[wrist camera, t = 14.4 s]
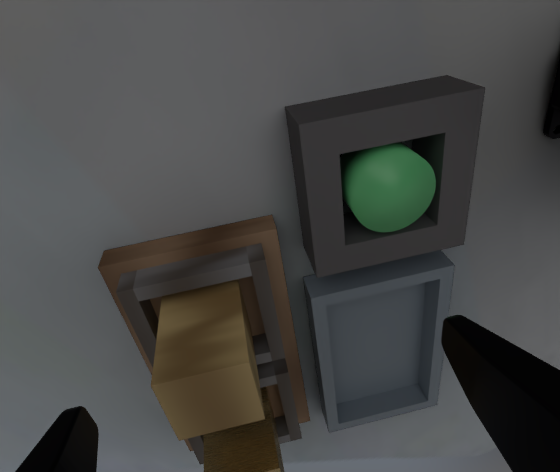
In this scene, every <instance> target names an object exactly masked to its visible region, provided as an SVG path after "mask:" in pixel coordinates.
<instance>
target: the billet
mask: <svg viewBox="0 0 560 472" xmlns="http://www.w3.org/2000/svg"><path fill="white" fill-rule="evenodd" d="M260 389H261V396H262V402H263V408H264V415H265V419H263V420H259V421H255V422H251V423H248V424H244V425H240V426H236V427H232V428H228V429H224V430H220V431H216V432H212V433H208V434H204V472H284V467H283V462H282V456H281V450H280V445H279V439H278V434H277V428H276V423H275V417H274V411H273V407H272V404H271V400H270V396H269V393H268V389H267V386H266V387H262V388H260Z"/></svg>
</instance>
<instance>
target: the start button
mask: <svg viewBox="0 0 560 472" xmlns="http://www.w3.org/2000/svg"><path fill="white" fill-rule="evenodd" d="M340 169H341V185H342V198H343V199H344V201H345V202H346V203H347V205H348V206H349V208H350V209H351V211H352V212H353V213H354V215H355V216H356V218H357V219H358V220H359V222H360V223H361V224H362V225H363V226H365V227H366V228H368V229H370V230H373V231H377V232H392V231H397V230H400V229H402V228H405V227H407V226H409V225H410V224H412V223H413V222H415V221H416V220H417V219H418V218H419V217H420V216H421V215H422V214H423V213H424V212H425V211H426V209H427V208H428V207H429V205H430V203H431V201H432V199H433V196H434V193H435V188H436V179H435V174H434V171H433V169H432V167H431V165H430V164H429V163H428V162H427V161H426V160H425V159H423V158H422V157H421V156H419V155H418V154H417V153H415V152H414V151H413V150H411V149H410V148H408V147H407V146H406V145H404V144H403V143H402V142H397V143H392V144H387V145H382V146H377V147H372V148H368V149H363V150H358V151H353V152H348V153H344V154H343V156H342V157H341V159H340Z"/></svg>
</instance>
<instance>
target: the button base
mask: <svg viewBox="0 0 560 472" xmlns="http://www.w3.org/2000/svg"><path fill="white" fill-rule="evenodd" d="M484 93H485V87H482V86H479V85H476V84H473V83H469V82H466V81H463V80H460V79H457V78H454V77H451V76H448V75H445V76H440V77H435V78H430V79H425V80H420V81H415V82H409V83H404V84H399V85H394V86H389V87H384V88H379V89H374V90H369V91H363V92H358V93H353V94H348V95H343V96H338V97H333V98H328V99H322V100H317V101H312V102H307V103H302V104H297V105H292V106H287V107H285V110H286V118H287V125H288V132H289V140H290V147H291V155H292V162H293V170H294V177H295V184H296V192H297V199H298V207H299V214H300V222H301V229H302V236H303V244H304V248H305V250H306V253H307V255H308V258H309V260H310V262H311V265H312V267H313V270H314V272H315V274H316V277H317V278H319V277H324V276H328V275H332V274H337V273H341V272H345V271H350V270H354V269H359V268H363V267H367V266H372V265H376V264H380V263H385V262H389V261H394V260H398V259H402V258H407V257H411V256H415V255H420V254H424V253H429V252H433V251H437V250H442V249H446V248H451V247H455V246H459V245H464V239H465V232H466V225H467V217H468V210H469V203H470V195H471V188H472V181H473V173H474V166H475V159H476V151H477V144H478V137H479V129H480V122H481V115H482V107H483V100H484ZM411 139H413V149H412V150H413V151H414V152H415V153H417V154H418V155H419V156H421V157H422V158H423V159H425V160H426V161H427V162H428V163H429V164H430V165H431V167H432V169H433V171H434V174H435V179H436V188H435V193H434V196H433V199H432V201H431V203H430V205H429V207H428V208H427V209H426V211H425V212H424V213H423V214H422V215H421V216H420V217H419V218H418V219H417V220H416V221H415V222H413V223H412V224H410V225H409V226H407V227H405V228H402V229H400V230H397V231H392V232H377V231H373V230H370V229H368V228H366V227H365V226H363V225H362V224H361V223H360V222H359V220H358V219H357V218H356V216H355V215H354V213H353V212H349V213H344V214H343V201H342V185H341V169H340V154H343V153H348V152H353V151H358V150H363V149H368V148H372V147H377V146H382V145H387V144H392V143H397V142H402V141H406V140H411Z"/></svg>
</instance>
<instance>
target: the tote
mask: <svg viewBox="0 0 560 472" xmlns="http://www.w3.org/2000/svg"><path fill="white" fill-rule="evenodd" d="M454 267H455V265H454V264H453V263H452V262H451V261H450V260H449V259H448V258H447V256H446V255H445V254H444V253H443V252H442V251H441V250H437V251H433V252H429V253H424V254H420V255H415V256H411V257H407V258H402V259H398V260H394V261H389V262H385V263H380V264H376V265H372V266H367V267H363V268H359V269H354V270H350V271H345V272H341V273H337V274H332V275H328V276H324V277H319V278H317V277H316V274H314V275H310V276H305V277H303V280H304V287H305V294H306V301H307V308H308V315H309V322H310V329H311V336H312V343H313V350H314V357H315V364H316V371H317V378H318V385H319V392H320V399H321V406H322V411H323V414H324V418H325V421H326V424H327V428H328V431H329V433H330V432H334V431H338V430H342V429H346V428H350V427H353V426H357V425H361V424H365V423H369V422H373V421H377V420H381V419H385V418H388V417H392V416H396V415H400V414H404V413H408V412H412V411H416V410H419V409H423V408H427V407H431V406H435V405H437V402H438V394H439V386H440V379H441V371H442V363H443V355H444V350H443V347H442V344H441V335H442V327H443V320H444V319H445V318H447V317H448V315H449V307H450V299H451V291H452V283H453V275H454Z"/></svg>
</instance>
